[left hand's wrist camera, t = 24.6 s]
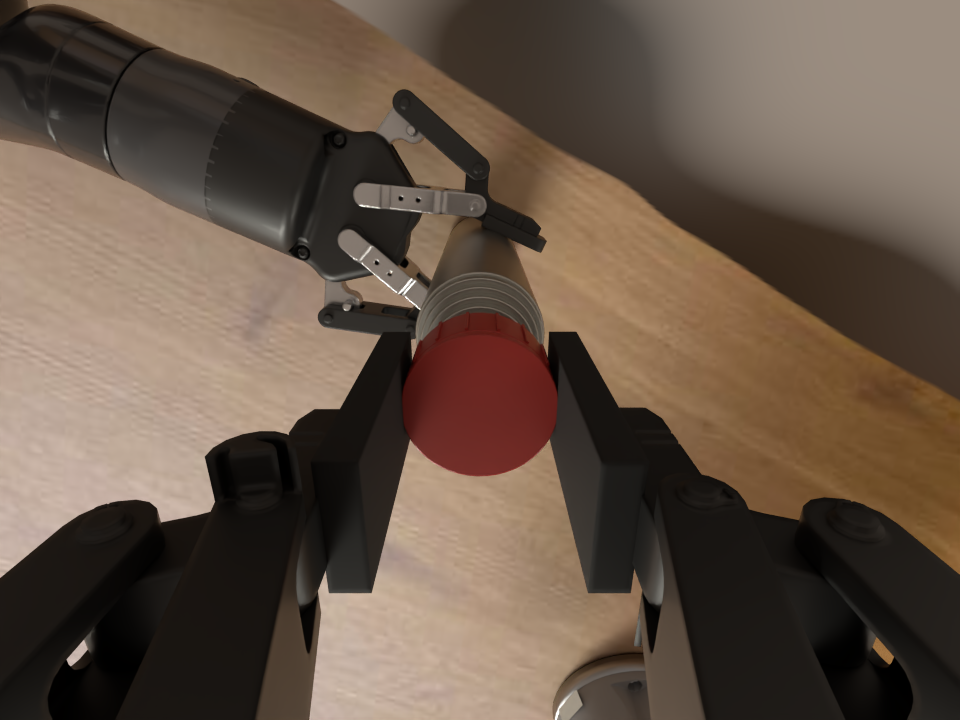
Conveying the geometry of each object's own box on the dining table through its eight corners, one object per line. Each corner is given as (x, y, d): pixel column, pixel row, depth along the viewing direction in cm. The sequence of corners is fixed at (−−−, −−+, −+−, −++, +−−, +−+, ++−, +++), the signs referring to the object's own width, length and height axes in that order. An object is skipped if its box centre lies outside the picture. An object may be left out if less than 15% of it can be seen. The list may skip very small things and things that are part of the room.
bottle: (472, 293, 36) (461, 494, 15) (434, 241, 35) (358, 376, 13) (525, 256, 36) (598, 411, 14) (487, 201, 34) (501, 275, 12)
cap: (578, 381, 14) (592, 413, 13) (476, 463, 15) (476, 504, 14) (483, 280, 13) (483, 299, 12) (380, 375, 14) (365, 406, 13)
